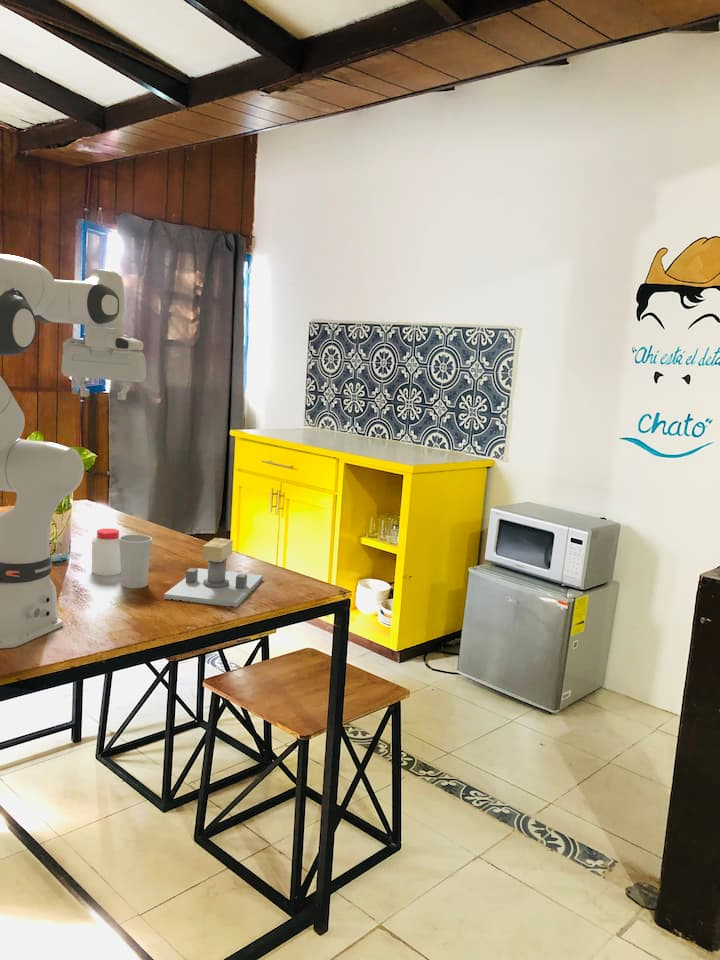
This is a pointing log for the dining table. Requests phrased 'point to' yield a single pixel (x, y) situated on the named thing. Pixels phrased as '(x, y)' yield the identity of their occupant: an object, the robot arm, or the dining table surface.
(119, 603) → the dining table surface
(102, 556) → the pill bottle
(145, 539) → the cup
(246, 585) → the base
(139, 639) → the dining table surface
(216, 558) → the tan parcel with label
